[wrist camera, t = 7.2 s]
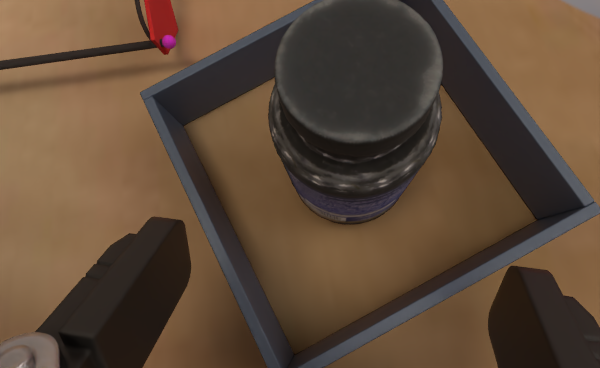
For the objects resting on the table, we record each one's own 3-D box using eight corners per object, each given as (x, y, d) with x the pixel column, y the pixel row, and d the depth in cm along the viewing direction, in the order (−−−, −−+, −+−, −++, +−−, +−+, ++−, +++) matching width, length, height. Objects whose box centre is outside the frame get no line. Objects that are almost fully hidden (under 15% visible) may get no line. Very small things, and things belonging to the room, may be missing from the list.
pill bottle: (427, 190, 21) (522, 98, 10) (327, 247, 21) (316, 215, 10) (366, 98, 22) (393, -66, 12) (272, 150, 22) (212, 33, 11)
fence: (172, 122, 23) (139, 92, 19) (395, 4, 24) (406, -49, 20) (290, 369, 19) (278, 392, 16) (551, 223, 20) (603, 211, 16)
